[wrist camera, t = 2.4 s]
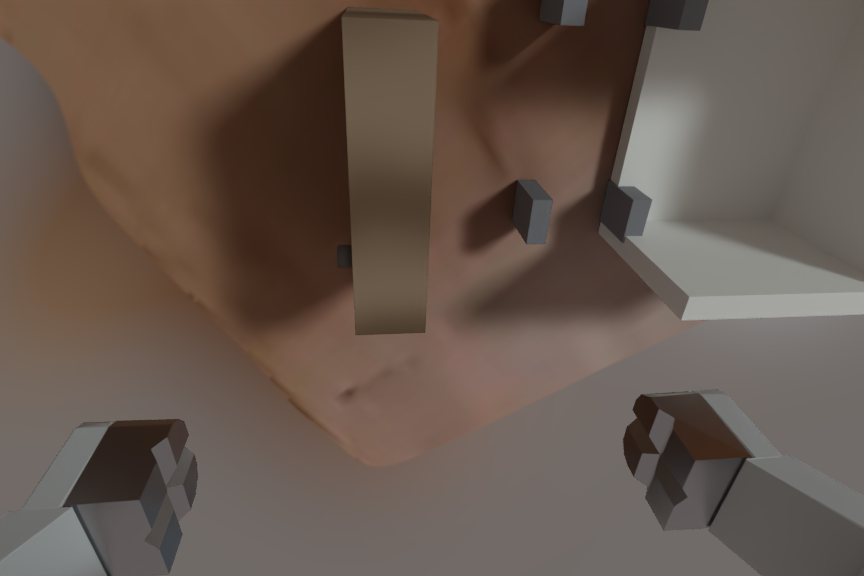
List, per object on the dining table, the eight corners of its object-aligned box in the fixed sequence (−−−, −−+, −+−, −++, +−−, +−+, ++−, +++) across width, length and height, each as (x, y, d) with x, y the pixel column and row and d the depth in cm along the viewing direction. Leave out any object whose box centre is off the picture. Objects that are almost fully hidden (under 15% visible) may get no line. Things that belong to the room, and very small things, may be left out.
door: (331, 6, 22) (318, 16, 15) (415, 10, 22) (439, 20, 16) (344, 251, 28) (338, 335, 21) (410, 250, 29) (425, 332, 22)
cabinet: (550, -64, 21) (653, -91, 14) (884, -43, 23) (1137, -56, 16) (510, 233, 29) (563, 324, 21) (769, 231, 31) (904, 312, 23)
